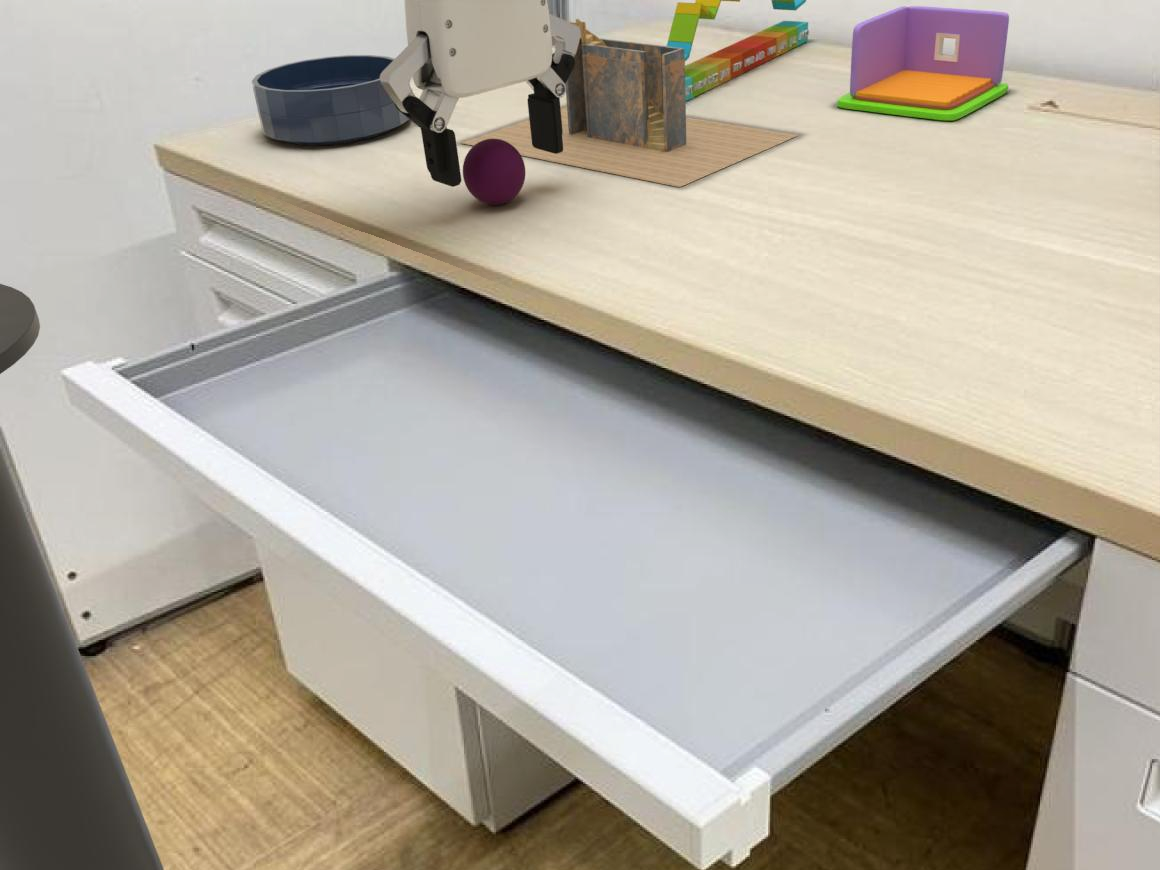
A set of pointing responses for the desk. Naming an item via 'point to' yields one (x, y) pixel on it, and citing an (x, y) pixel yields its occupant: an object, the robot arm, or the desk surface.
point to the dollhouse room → (927, 62)
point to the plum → (494, 171)
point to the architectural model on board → (637, 118)
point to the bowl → (326, 100)
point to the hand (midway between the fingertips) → (498, 166)
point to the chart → (737, 55)
